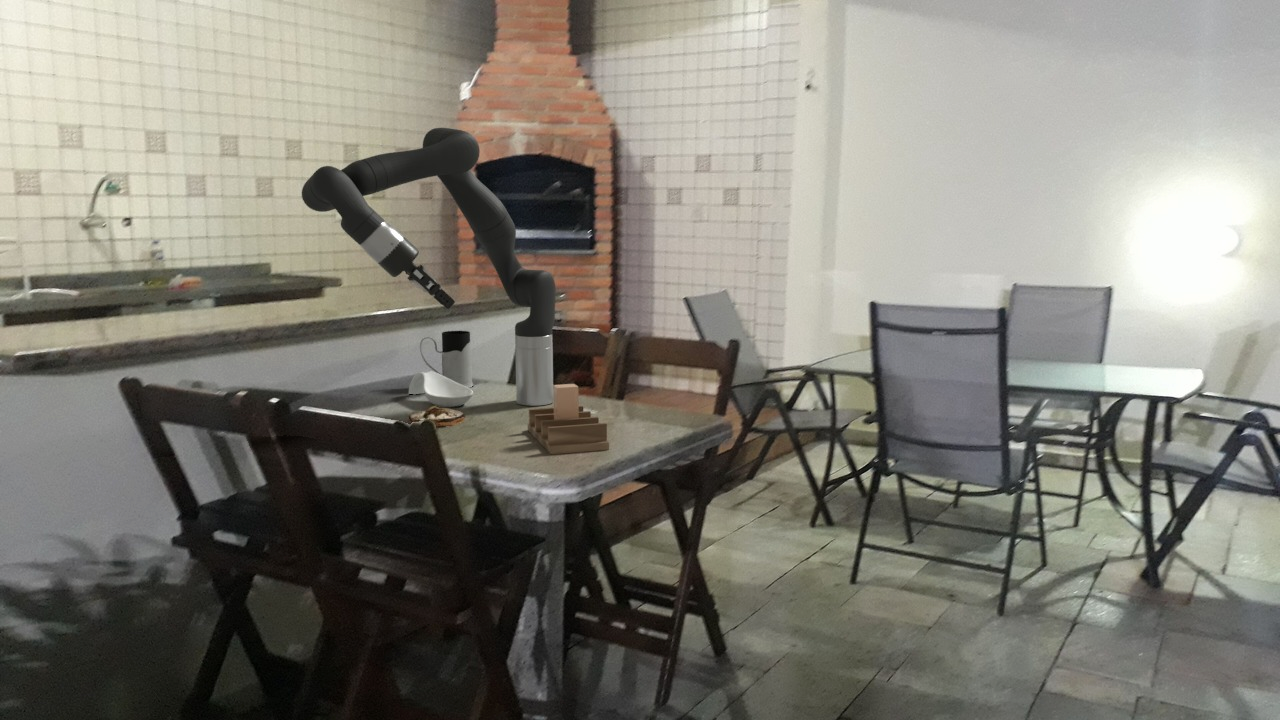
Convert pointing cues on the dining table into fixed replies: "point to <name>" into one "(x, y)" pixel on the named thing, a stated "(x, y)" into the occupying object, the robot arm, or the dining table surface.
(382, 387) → the dining table surface
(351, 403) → the dining table surface
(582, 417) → the walnut rack
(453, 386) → the spoon rest
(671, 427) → the dining table surface
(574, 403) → the clay block
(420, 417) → the pie
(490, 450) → the dining table surface
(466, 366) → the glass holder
